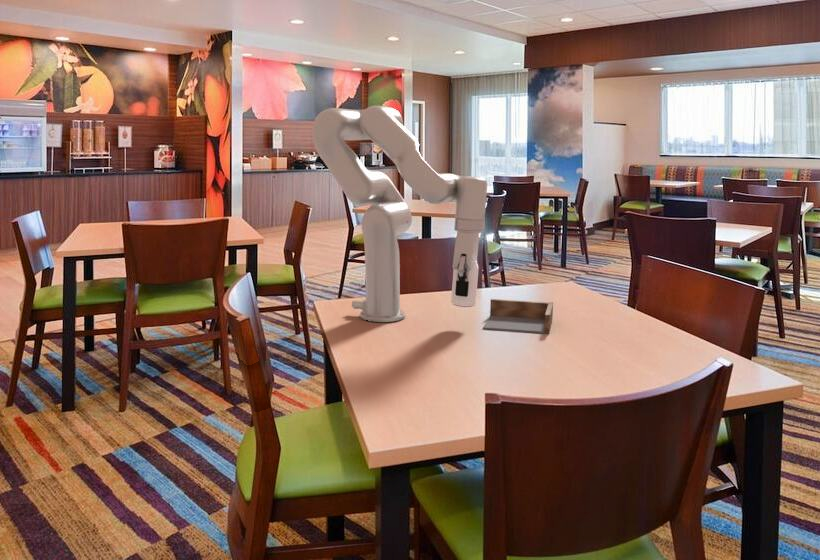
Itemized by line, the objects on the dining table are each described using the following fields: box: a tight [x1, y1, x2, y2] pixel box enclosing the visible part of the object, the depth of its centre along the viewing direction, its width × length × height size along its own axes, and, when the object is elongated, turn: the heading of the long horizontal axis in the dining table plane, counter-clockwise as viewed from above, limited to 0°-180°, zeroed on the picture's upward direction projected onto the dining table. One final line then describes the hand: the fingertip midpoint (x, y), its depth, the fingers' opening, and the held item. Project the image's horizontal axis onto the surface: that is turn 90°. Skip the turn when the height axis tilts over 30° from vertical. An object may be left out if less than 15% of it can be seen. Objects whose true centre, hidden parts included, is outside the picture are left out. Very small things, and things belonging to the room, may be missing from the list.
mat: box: [482, 315, 551, 334], centre depth 179 cm, size 17×14×1 cm
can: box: [450, 259, 480, 308], centre depth 175 cm, size 6×6×12 cm
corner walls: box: [489, 298, 554, 335], centre depth 179 cm, size 17×14×5 cm
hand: (464, 292), depth 175 cm, fingers closed on can, 6 cm apart
